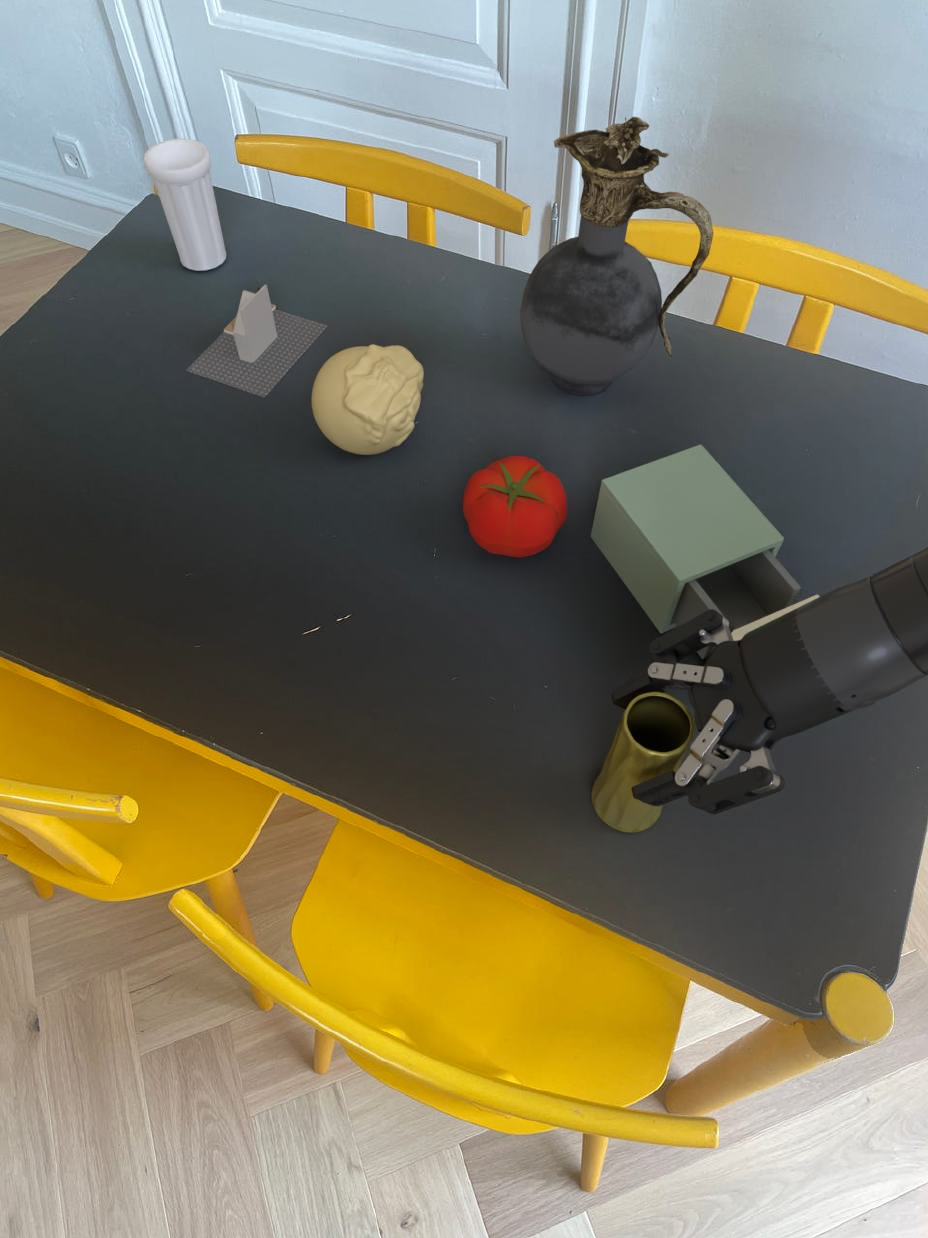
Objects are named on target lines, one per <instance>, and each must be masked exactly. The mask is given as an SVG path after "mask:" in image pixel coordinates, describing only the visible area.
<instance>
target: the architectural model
mask: <svg viewBox="0 0 928 1238" xmlns="http://www.w3.org/2000/svg"><path fill="white" fill-rule="evenodd" d="M327 328H328V325H326V324H323V323H321V322H317V321H313V320H310V319H307V318H305V317H302V316H298V315H294V314H291V313H288V312H285V311H282V310H279V309H277V307H276V304H273V303H271V298H270V293H269V289H268V284H264V285H263V286H262V287H261V288H260V287H258V288H257V292H256V293H255V292H251V291H248V290H245V289H243V291H242V294H241V297H240V302H239V306H238V309H237V313H236V316H235V317H234V318H233V319H232V320H231V321H230V322H229V323H228V324H227V325H226V326H225V327H224V328H223V332H222V333H221V334H220V335H219V336H218V337H217V338H216V339H215V341H214V342H212V343H211V344H210V345H209V346H208V348H206V349H205V350H204V351H203V353H202V354H200V356H198V358H197V359H196V360H195V361H194V362H193V363H192V364H190V366H189V367H188V368H187V369H186V370H185V371H186V372H188V373H191V374H193V375H197V376H199V377H203V378H206V379H209V380H213V381H215V382H217V383H221V384H223V385H225V386H229V387H232V388H235V389H238V390H240V391H243V392H247V393H249V394H252V395H255V396H259V397H261V398H263V399H265V398H266V397H267V396H268V395H269V393H271V391H272V390H273V389H274V388H275V387H276V385H277V384H278V383H279V382H280V381H281V380H282V379H283V377H284V376H286V375H287V373H288V372H289V370H291V368H292V367H293V366H294V365H296V363H297V362H298V361H299V359H301V358H302V356H303V355H304V354H305V353H306V351H307V350H308V349H310V347H311V346H312V345H313V344H314V343H315V342H316V340H317V339H318V338H319V337H320V336H321V335H322V333H323V332H324V331H325V330H326V329H327Z"/></svg>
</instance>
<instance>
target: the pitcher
mask: <svg viewBox="0 0 928 1238" xmlns="http://www.w3.org/2000/svg"><path fill="white" fill-rule="evenodd" d="M624 120H625V122H623V123H613V124H611V125H609V126H608V127H605V131H603V130H600V129H589V130H581V131H577V132H572V133H569V134H565V135H561V136H559V137H558V138H556V139H554V141H553V145H554V148H557V149H558V148H564V149H566V150H567V151H568V152H569V154H570V155H571V156H572V158H573V159H575V160H576V161H577V162H578V163H579V166H580V168H581V174H580V175H581V178H582V180H583V181H582V183H583V186H582V192H581V196H580V200H579V214H580V220H579V227H578V228H579V229H578V236H575V237H570V238H568V239H566V240H563V241H561V242H560V243H557V244H555V246H552V248H551V249H549V250H548V251H547V252H546V253H545V254H544V255H543V256H542V257H541V258H540V259H538V261H537V263H536V264H535V266H534V268H533V269H532V271H531V273H530V275H529V276H528V279H527V281H526V284H525V286H524V289H523V293H522V298H521V304H520V308H519V311H520V312H519V315H520V329H521V334H522V339H523V341H524V343H525V345H526V347H527V349H528V352H529V354H530V356H531V358H532V359H533V360H534V361H535V362H536V363H537V364H538V365H539V366H541V367H542V368H544V370H547V373H548V376H549V378H550V381H551V382H552V383H553V385H555V386H556V387H557V388H558V389H560V390H562V391H563V392H565V393H568V394H571V395H578V396H582V397H585V396H586V397H587V396H596V395H599V394H602V393H604V392H605V391H606V390H607V389H608V388H609V387H610V386H611V385H612V384H613V381H615V380H618V379H619V378H621V377H623V376H625V375H626V374H628V373H629V372H630V371H632V370H633V369H634V368H635V367H636V366H637V365H638V364H639V363H640V362H641V361H642V360H643V359H644V357H645V356H646V354H647V353H648V351H649V350H650V348H651V346H652V345H653V343H654V340H655V337H656V335H657V332H658V329H659V331H660V335H661V337H662V338H663V341H664V343H663V346H664V347H665V351H666V353H667V354H668V355H669V357H671V358H672V357H673V347H672V345H671V342H670V340H671V337H669V335H668V334H667V329H666V314H667V312H668V310H669V308H670V306H672V303H674V301H675V300H676V299H677V297H678V296H679V295H681V294H682V293H683V291H684V290H685V289H686V288H687V287H688V286H689V285H690V284H691V283H692V282H693V280H694V279H695V278H696V277H697V275H698V273H699V271H700V270H701V269H702V266H703V265H704V263H705V262H706V260H707V259H708V257H709V255H710V253H711V249H712V244H713V237H714V229H713V224H712V223H713V221H712V217H711V215H710V212H709V211H708V210H707V209H706V207H705V206H704V205H703V204H702V203H701V202H699V200H697V199H696V198H693V197H691V196H689V195H685V194H684V193H681V192H679V191H666V192H665V191H664V192H660V191H655V190H652V189H651V188H650V187H649V185H648V184H647V183H646V182H645V175H646V174H647V173H649V172H651V171H653V170H654V169H655V168H656V167H658V166H659V165H660V158H667V157H669V156H670V153H669V152H662V151H661V150H660V149H658V148H652V149H650V148H649V147H645V146H643V145H641V142H642V138H641V135H640V134H641V133H642V132H643V131H647V130H648V129H649V127H650V124H649V123H648V122H646V121H644V120H643V119H642V118H640V117H639V116H632V117H631V118H629V119H627V117H626V116H625V117H624ZM662 209H671V210H675V211H677V212H680V213H682V214H683V215H685V216H686V217H688V218H689V219H690V220H692V221H693V223H694V224H695V225H696V226H697V229H698V232H699V235H700V236H699V237H700V238H699V239H700V240H699V247H698V249H697V254H696V256H695V258H693V261H692V263H691V266H690V269H689V270H688V272H687V273H686V275H685V276H684V277H683V278H681V280H680V281H679V282H678V283H677V284H676V286H675V287H674V288H673V289H672V291H671V292H670V293H668V295H667V296H666V298H665V300H664V302H663V297H662V288H661V284H660V281H659V278H658V275H657V273H656V270H655V269H654V267H653V264H652V262H651V261H650V260H649V258H647V257H646V256H645V255H644V254H643V253H642V252H641V251H640V250H639V249H638V248H637V247H635V246H634V245H632V244H630V243H629V242H627V241H626V237H627V231H628V225H629V221H630V219H631V218H632V217H633V215H634V213H636V212H638V211H641V210H642V211H643V210H662Z"/></svg>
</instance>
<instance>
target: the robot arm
mask: <svg viewBox="0 0 928 1238" xmlns="http://www.w3.org/2000/svg"><path fill="white" fill-rule="evenodd" d="M733 630H734V623H733V622H732V621H730V620H729V619H727V618H726V617H724V616H723V615H722V614H720V613H719V612H717V611H716V610H714V609H710V610H708V611H706V612H704V613H702V614H700V615H699V616H697V617H695V618H693V619H691V620H690V621H688V622H686V623H684V624H682V625H680V626H679V627H675V628H673V629H670V630H668V631H667V632H665V633H664V634H662V635H660V636H659V637H657V638H655V639H654V640H652V641H651V643H650V644H649V651H650V652H651V653H652V660H651V661H652V662H651V664H649V666H648V668H647V669H646V670H643V671H642V672H640V673H638V674H636V675H635V676H633V677H631V678H628V679H626V680H624V681H623V682H620V684H619V685H618V686H616V691H614V692H612V693H611V695H610V696H611V700H612V704H613V705H614V706H616V707H618V708H620V709H622V710H626V708H627V707H628V705H629V703H630V702H631V701H632V700H633V699H634V698H636V697H637V696H639V695H641V694H645V693H650V692H660V693H666V692H667V690H666V687H669V688H673V689H680V690H681V689H682V690H688V691H687V692H686V694H687V697H688V702H689V704H690V705H691V706H692V708H693V710H694V724H695V726H696V727H695V728H696V730H697V732H699V734H698V735H697V736H696V738H695V739H694V740H693V742H691V745H689V746H690V747H689V754H688V756H687V757H686V759H684V761H683V763H681V764H680V766H679V768H678V771H677V772H674V771H672V770H671V771H668V772H666V773H664V774H661V775H659V776H656V777H654V778H652V779H649V780H647V781H645V782H642V783H640V784H638V785H635V786H633V787H632V788H631V789H632V794H633V798H635V799H637V800H640V801H642V802H644V803H646V804H649V805H652V806H661V805H663V806H664V805H666V804H669V803H670V802H673V801H677V800H678V799H681V798H684V797H688V799H687V800H688V804H689V805H690V806H691V807H693V808H695V809H698V810H699V809H700V810H701V811H705V812H706V813H708V814H710V815H719V814H721V813H723V812H726V811H729V810H731V809H734V808H737V807H741V806H743V805H746V804H749V803H751V802H755V801H757V800H759V799H762V798H765V797H768V796H772V795H774V794H777V793H779V792H782V791H783V790H784V789H785V786H786V780H785V778H784V776H783V775H781V774H779V773H778V772H777V771H776V767H775V763H774V760H773V758H772V755H771V751H772V749H773V747H774V746H775V745H776V744H778V742H779V741H781V740H782V739H785V738H787V737H790V736H794V735H797V734H800V733H802V732H805V731H807V730H810V729H812V728H815V727H817V726H820V725H822V724H825V723H827V722H829V721H831V720H834V719H837V718H839V717H842V716H844V715H846V714H848V713H851V712H854V711H856V710H859V709H864V708H867V707H870V706H872V705H875V704H876V702H878V701H880V700H883V699H885V698H887V697H890V696H892V695H894V694H896V693H898V692H900V691H901V690H904V689H906V687H909V686H910V685H911V684H914V683H915V682H917V681H919V680H922V679H923V678H925V677H927V676H928V546H927V547H925V548H924V549H922V550H920V551H918V552H916V553H914V554H913V555H910V556H908V557H905V558H904V559H901V560H900V561H898V562H896V563H893V564H891V565H890V566H888V567H885V568H884V569H881V570H880V571H878V572H876V573H874V574H872V575H870V576H868V577H865V578H863V579H860V580H858V581H855V582H852V583H849V584H846V585H843V586H841V587H838V588H835V589H833V590H831V591H829V592H826V593H825V594H822V595H821V596H819V597H818V598H816V599H814V600H812V601H810V602H808V603H806V604H804V605H802V606H800V607H798V608H796V609H794V610H792V611H790V612H788V613H786V614H784V615H782V616H780V617H778V618H776V619H774V620H772V621H770V622H768V623H766V624H764V625H762V626H760V627H758V628H756V629H754V630H752V631H750V632H748V633H746V634H745V635H744V636H743V638H742V639H741V640H736V641H734V640H733V637H732V634H731V633H732V632H733ZM707 646H709V647H715V646H716V647H715V648H714V650H713V651H712V653H711V654H710V656H709V657H707V659H705V662H704V663H703V665H694V664H687V663H679V662H680V661H681V660H684V659H686V658H687V657H689V656H692V655H693V654H696V653H697V651H699V650H701V649H703V648H705V647H707ZM716 745H719V746H718V747H717V748H716V749H714V748H715V746H716ZM740 752H745V753H749V754H750V758H749V759H748V761H746V762H745V763H743V764H741V765H740V766H739V772H738V773H735V774H732V775H730V776H727V777H724V778H722V779H719V780H716V781H714V780H715V779H716V777H717V776H718V775H719V773H721V772H722V771H725V770H727V768H729V767H730V765H731V764H732V762H733V761H734V760H735V759H736V757H737V756H738V754H739V753H740ZM713 781H714V782H713Z"/></svg>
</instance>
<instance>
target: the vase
mask: <svg viewBox="0 0 928 1238" xmlns="http://www.w3.org/2000/svg"><path fill="white" fill-rule="evenodd" d="M688 708H689V707H687V706H686V704H685V703H683V702H681V701H680V699H678V698H676V697H674V696H673V695H671V694H668V693H666V692H664V693H660V692H650V693H645V694H641V695H639V696H637V697H636V698H634V699H633V700H632V701H631V702H630V703H629V705H628V707H627V708H626V709H624V711H623V713H622V716H621V719H620V721H619V724H618V727H617V729H616V732H615V735H614V738H613V740H612V741H613V742H612V744H611V746H610V748H609V751H608V753H607V756H606V757H605V760H604V762H603V764H602V768H601V771H600V773H599V774H598V775H597V777H596V779H595V781H594V783H593V785H592V787H591V795H590V796H591V803H592V806H593V809H594V811H595V813H596V814H597V816H598V817H599V818H600V820H601V821H602V822H603V823H605V824H606V825H607V826H609V827H611V828H612V829H614V830H616V831H618V832H622V833H629V834H630V833H639V832H643V831H645V830H648V829H650V827H652V826H654V824H655V823H656V822H657V821H658V819H659V817H660V816H661V814H662V810H663V807H664V805H661V806H652V805H649V804H646V803H644V802H642V801H640V800H637V799H635V798H633V794H632V789H631V788H632V787H633V786H635V785H638V784H640V783H642V782H645V781H647V780H649V779H652V778H654V777H656V776H659V775H661V774H664V773H666V772H668V771H671V770H672V771H674V772H677V771H678V769H679V768H680V767H681V765H682V761H683V759H684V756H685V754H686V752H687V750H688V748H689V746H690V744H691V743H692V741H693V739H694V736H695V732H696V727H695V726H696V724H695V718H694V716H693V714H692V713H691V711H690V709H688Z"/></svg>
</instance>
